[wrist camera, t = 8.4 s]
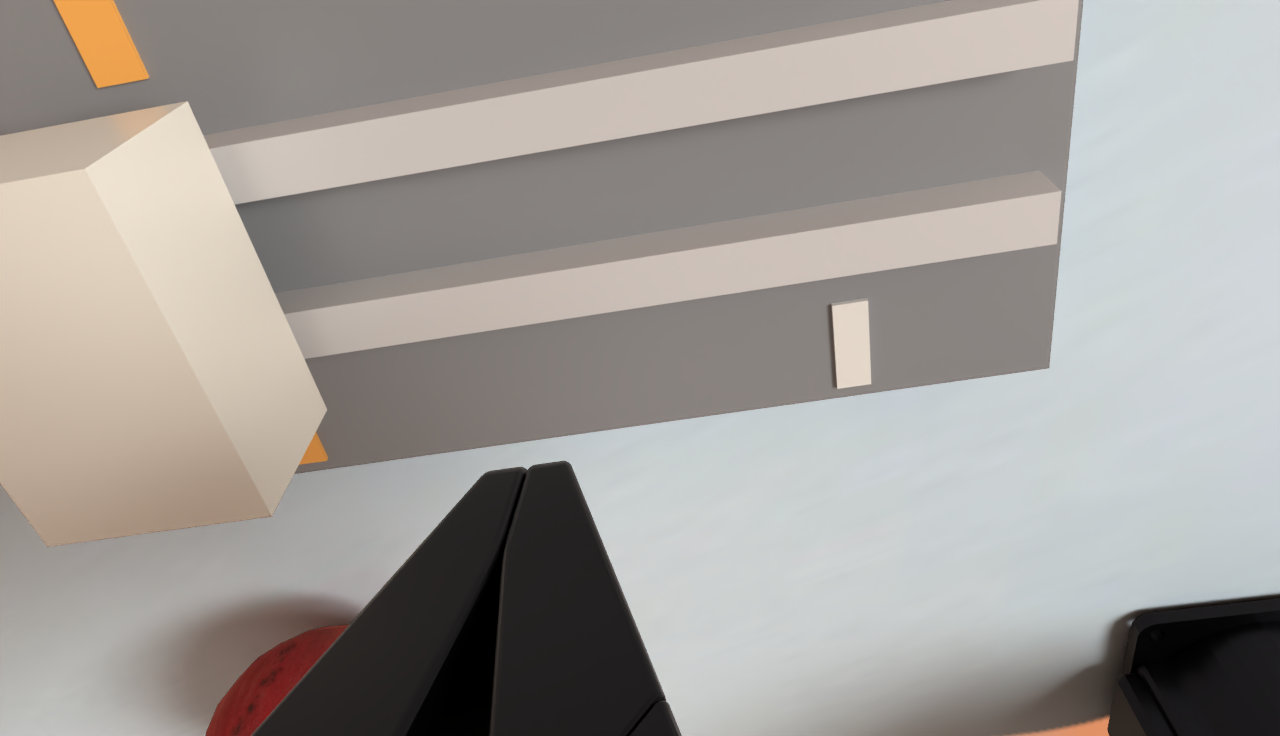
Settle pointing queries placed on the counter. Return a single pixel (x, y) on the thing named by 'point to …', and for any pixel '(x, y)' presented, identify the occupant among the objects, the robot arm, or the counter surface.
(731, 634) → the counter surface
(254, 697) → the onion
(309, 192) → the fader console
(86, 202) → the fader tab
